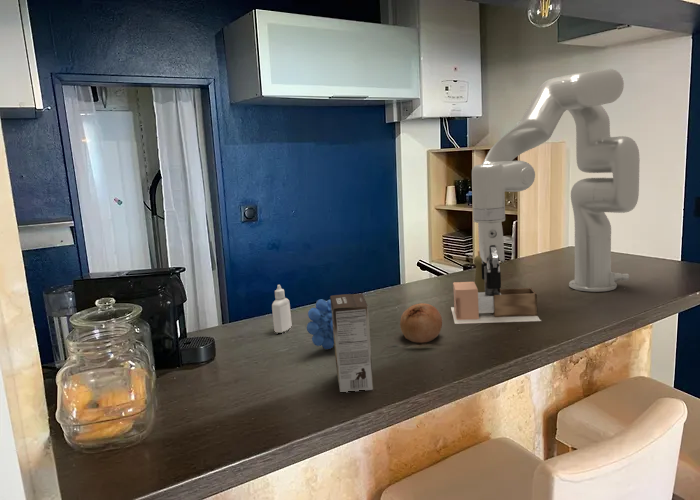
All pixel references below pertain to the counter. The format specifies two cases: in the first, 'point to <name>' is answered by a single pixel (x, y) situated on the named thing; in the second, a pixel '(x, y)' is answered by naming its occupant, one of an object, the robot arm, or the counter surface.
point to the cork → (479, 274)
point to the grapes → (321, 324)
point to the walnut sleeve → (515, 302)
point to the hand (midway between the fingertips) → (491, 283)
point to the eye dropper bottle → (281, 311)
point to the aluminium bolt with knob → (487, 297)
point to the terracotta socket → (465, 300)
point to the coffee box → (352, 342)
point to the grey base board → (494, 318)
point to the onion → (421, 323)
